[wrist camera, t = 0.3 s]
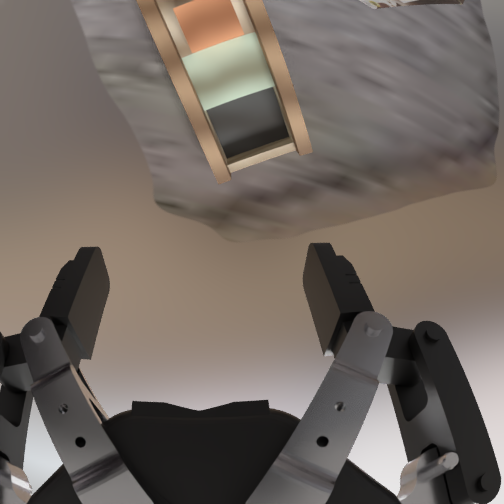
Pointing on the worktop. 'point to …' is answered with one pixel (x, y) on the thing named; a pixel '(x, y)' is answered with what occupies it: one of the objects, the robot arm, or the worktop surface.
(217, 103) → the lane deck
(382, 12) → the worktop surface
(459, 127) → the worktop surface
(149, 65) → the worktop surface
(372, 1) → the coffee box
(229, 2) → the block
